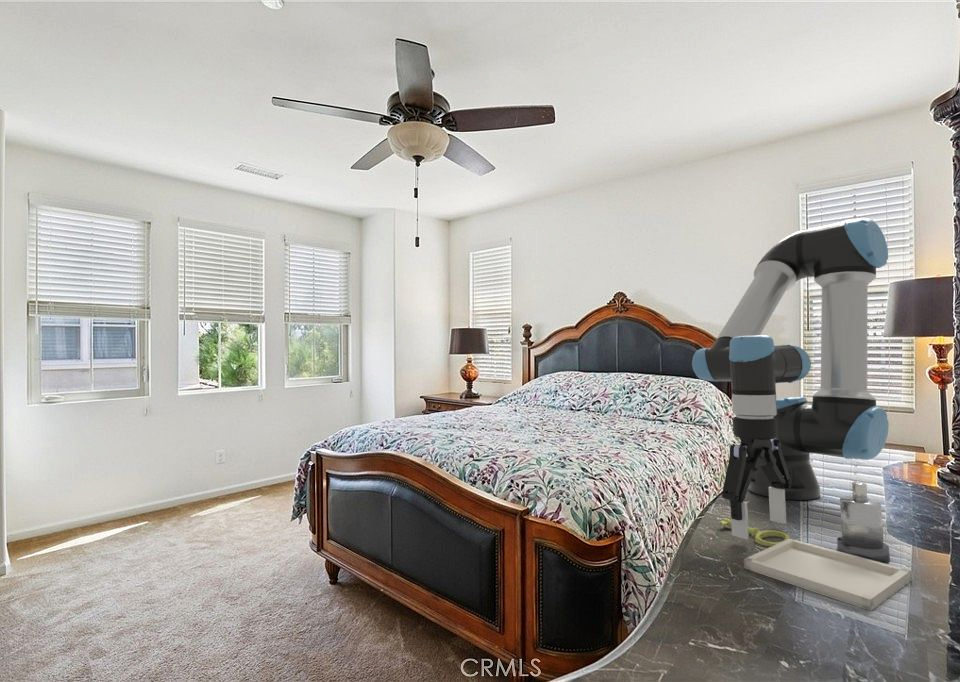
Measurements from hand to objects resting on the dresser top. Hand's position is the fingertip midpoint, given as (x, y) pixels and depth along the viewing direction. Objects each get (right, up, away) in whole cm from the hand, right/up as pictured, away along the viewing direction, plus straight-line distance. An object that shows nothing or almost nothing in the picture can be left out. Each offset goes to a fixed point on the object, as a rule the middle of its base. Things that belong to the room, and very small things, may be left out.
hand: (760, 529), depth 95 cm
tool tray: (+1, -1, -17) cm, 17 cm away
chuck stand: (+12, -1, -10) cm, 16 cm away
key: (-1, -2, 0) cm, 2 cm away
